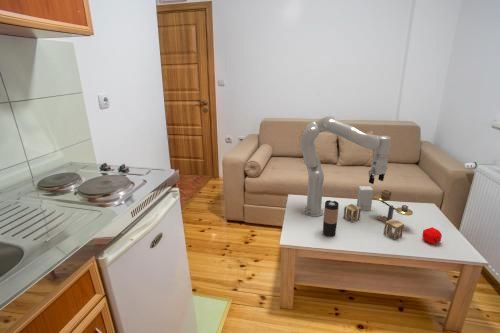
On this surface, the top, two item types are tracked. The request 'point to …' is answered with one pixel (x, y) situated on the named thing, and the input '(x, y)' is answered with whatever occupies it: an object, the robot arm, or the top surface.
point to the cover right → (395, 224)
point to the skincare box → (365, 197)
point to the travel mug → (330, 218)
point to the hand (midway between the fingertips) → (375, 181)
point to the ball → (432, 235)
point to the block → (386, 195)
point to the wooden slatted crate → (350, 213)
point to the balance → (400, 210)
